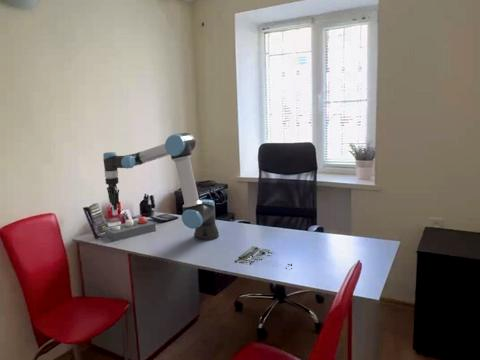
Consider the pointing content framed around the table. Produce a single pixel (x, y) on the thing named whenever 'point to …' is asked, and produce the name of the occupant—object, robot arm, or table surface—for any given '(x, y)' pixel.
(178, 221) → the table surface
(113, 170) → the robot arm
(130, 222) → the button cream
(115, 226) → the button sage
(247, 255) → the model
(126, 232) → the grey tray
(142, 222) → the button red
